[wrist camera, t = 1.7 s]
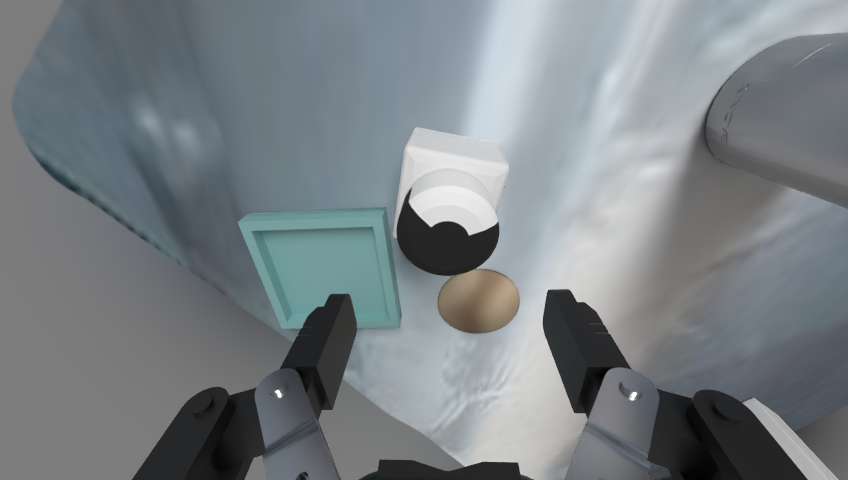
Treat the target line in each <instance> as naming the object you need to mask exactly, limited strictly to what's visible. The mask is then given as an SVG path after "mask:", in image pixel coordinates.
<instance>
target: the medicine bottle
mask: <svg viewBox="0 0 848 480" xmlns="http://www.w3.org/2000/svg"><path fill="white" fill-rule="evenodd" d="M509 171H510V167H509V166H508V164H507V162H506V161H505V159H504V157H503V155H502V154H501V152H500V150H499V149H498V147H497V145H496V144H495V143H494V142H490V141H485V140H480V139H475V138H470V137H464V136H459V135H454V134H449V133H444V132H439V131H434V130H428V129H423V128H415V129H414V130H413V132H412V134H411V136H410V139H409V141H408V143H407V145H406V147H405V149H404V154H403V161H402V169H401V176H400V183H399V190H398V197H397V204H396V211H395V218H394V226H393V233H392V234H393V237H394V238H395V239H397V240H398V243H399V246H400V248H401V250H402V252H403V254H404V255H405V256H406V257H407V259H408V260H409V261H410V262H411V263H412V264H414V265H415V266H417V267H418V268H420V269H422V270H424V271H426V272H429V273H432V274H436V275H442V276H452V275H459V274H463V273H467V272H469V271H472V270H474V269H476V268H477V267H479V266H480V265H482V264H483V263H484V262H485V261H486V260H487V259H488V258H489V257H490V256H491V254H492V253H493V251H494V249H495V247H496V245H497V242H498V238H499V223H498V219H497V216H496V211H497V208H498V205H499V202H500V198H501V195H502V192H503V189H504V186H505V183H506V180H507V177H508V174H509Z"/></svg>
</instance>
